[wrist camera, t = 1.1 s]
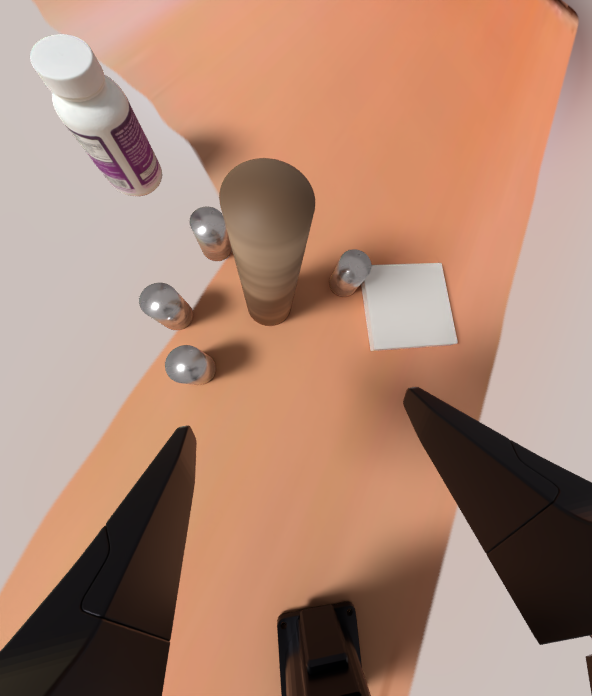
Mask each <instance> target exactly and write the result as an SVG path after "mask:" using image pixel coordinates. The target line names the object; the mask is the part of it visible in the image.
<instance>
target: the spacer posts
mask: <svg viewBox="0 0 592 696" xmlns="http://www.w3.org/2000/svg"><path fill="white" fill-rule="evenodd" d="M190 226H191V229H192V231H193V233H194V235H195V237H196V239H197V241H198V243H199V245H200V247H201V249H202V252H203V253H204V255H205V256H206V257H207V258H208V259H210V260H213V261H222V260H224V259H226V258H227V257H228V256H229V255H230V253H231V250H232V247H231V243H230V240H229V236H228V232H227V228H226V225H225V221H224V217H223V215H222V213H221V212H220V211H218V210H217V209H215V208H213V207H202V208H199V209H197V210H195V211H194V212H193V213H192V215H191V217H190ZM371 268H372V265H371V261H370V259H369V257H368V256H367V255H366V254H365V253H364V252H362V251H360V250H354V249H353V250H348V251H346V252H345V253H344V254H343V255H342V256H341V258H340V260H339V262H338V264H337V266H336V268H335V270H334V272H333V274H332V275H331V277H330V280H329V285H330V288H331V290H332V291H333V292H334V293H335V294H336V295H338V296H341V297H347V296H350V295H352V294H353V293H354V292H355V290H356V289H357V288H358V287H359V286H360V284H361V283H362V282H363V281H364V280H365V278H366V277H367V276H368V275H369V273H370V272H371ZM139 304H140V307H141V309H142V311H143V312H144V313H145V314H147V315H148V316H150V317H151V318H153V319H155V320H156V321H158V322H159V323H161V324H162V325H164V326H165V327H167V328H169V329H171V330H181V329H184V328H186V327H187V326H188V325H189V324H190V323H191V321H192V319H193V311H192V308H191V307H190V306H189V304H188V303H187V302H186V301H185V300H184V299H183V298H182V297H181V296H180V295H179V294H178V293H177V292H176V290H175V289H174V288H173V287H171V286H170V285H168V284H165V283H154V284H151V285H149V286H147V287H146V288H145V289H144V290H143V291H142V293H141V295H140V298H139ZM165 369H166V373H167V374H168V376H169V377H170V378H171V379H172V380H174V381H176V382H178V383H185V384H194V385H202V384H205V383H207V382H209V381H210V380H211V379H212V378H213V376H214V374H215V371H216V365H215V362H214V360H213V359H212V358H211V357H210V356H209V355H207V354H205V353H204V352H202V351H201V350H199V349H197V348H195V347H193V346H190V345H183V346H179V347H177V348H175V349H173V350H172V351H171V352H170V353H169V355H168V356H167V358H166V362H165Z"/></svg>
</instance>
